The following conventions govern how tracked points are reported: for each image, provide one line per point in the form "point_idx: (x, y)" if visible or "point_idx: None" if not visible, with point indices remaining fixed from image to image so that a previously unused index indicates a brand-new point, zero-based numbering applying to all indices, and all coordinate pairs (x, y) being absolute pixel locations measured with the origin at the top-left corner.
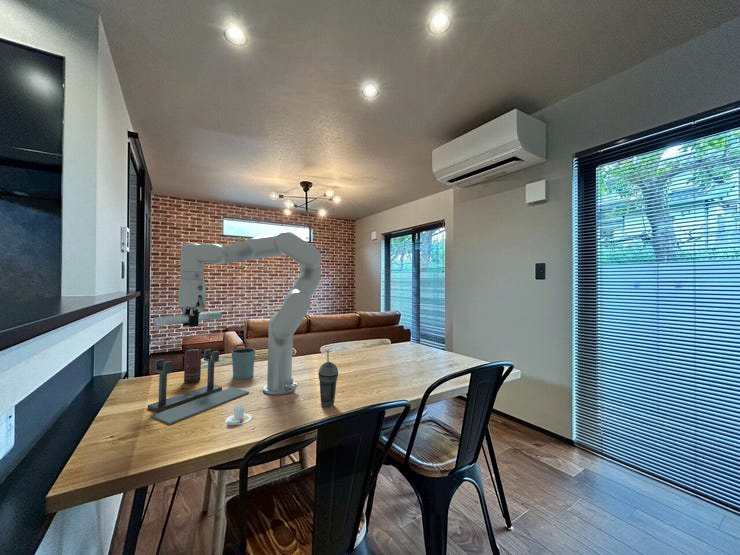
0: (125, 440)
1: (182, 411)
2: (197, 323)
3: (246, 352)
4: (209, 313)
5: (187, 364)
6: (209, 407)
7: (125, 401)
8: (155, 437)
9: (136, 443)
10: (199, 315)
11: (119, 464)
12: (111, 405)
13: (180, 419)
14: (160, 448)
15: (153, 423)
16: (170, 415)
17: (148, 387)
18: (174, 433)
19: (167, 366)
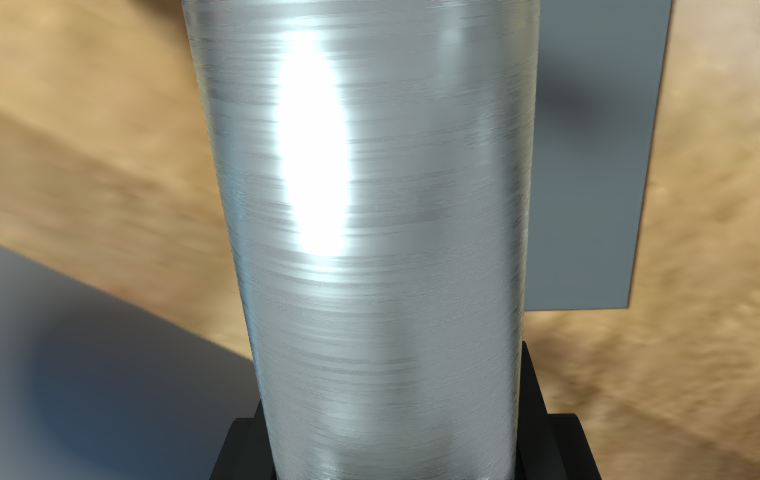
0: (590, 418)
1: (568, 225)
2: (531, 388)
3: None
4: (480, 62)
5: None
6: (652, 125)
7: (198, 287)
8: (666, 368)
9: (645, 411)
10: (502, 469)
11: (717, 472)
12: (208, 333)
13: (631, 266)
14: (754, 391)
15: (548, 325)
16: (558, 272)
17: (44, 141)
18: (707, 325)
19: None
